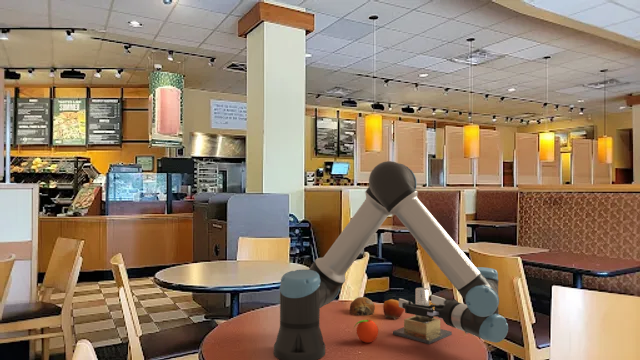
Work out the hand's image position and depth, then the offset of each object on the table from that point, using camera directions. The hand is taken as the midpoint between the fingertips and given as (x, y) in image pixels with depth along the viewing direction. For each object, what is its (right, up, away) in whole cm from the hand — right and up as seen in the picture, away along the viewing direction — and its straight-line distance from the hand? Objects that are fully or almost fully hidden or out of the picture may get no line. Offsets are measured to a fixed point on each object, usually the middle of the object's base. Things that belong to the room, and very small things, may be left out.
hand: (416, 300), depth 152 cm
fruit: (-5, -11, +17) cm, 21 cm away
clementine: (-19, -10, -12) cm, 24 cm away
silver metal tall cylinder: (+1, -9, -3) cm, 10 cm away
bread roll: (-16, -12, +24) cm, 31 cm away
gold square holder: (+1, -10, -3) cm, 11 cm away
